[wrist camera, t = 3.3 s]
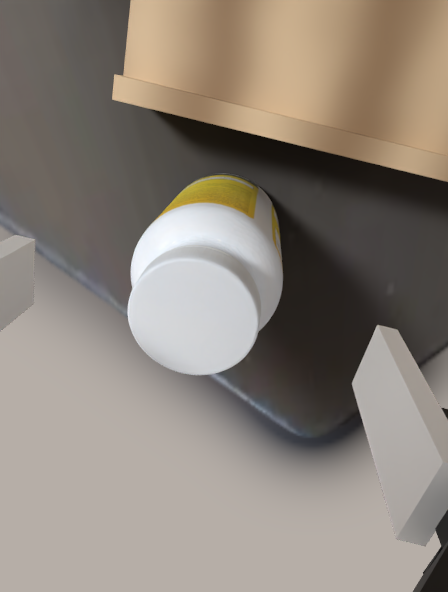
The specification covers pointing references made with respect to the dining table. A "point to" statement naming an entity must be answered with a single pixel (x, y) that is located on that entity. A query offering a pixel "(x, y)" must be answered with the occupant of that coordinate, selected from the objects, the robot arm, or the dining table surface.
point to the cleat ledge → (300, 73)
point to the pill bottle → (206, 276)
